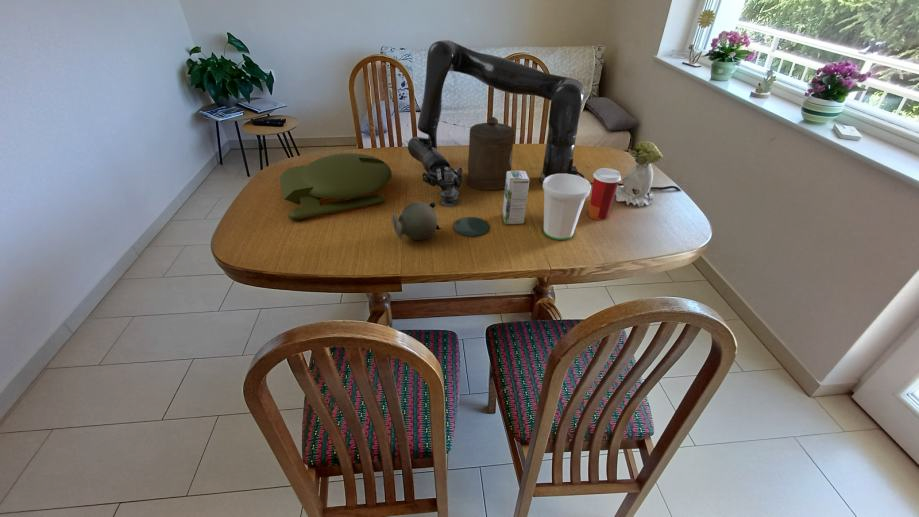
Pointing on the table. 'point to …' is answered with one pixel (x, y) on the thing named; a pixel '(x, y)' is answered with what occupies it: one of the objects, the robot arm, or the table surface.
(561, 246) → the table surface
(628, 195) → the white green figurine
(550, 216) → the cup
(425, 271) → the table surface
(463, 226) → the coaster
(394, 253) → the table surface
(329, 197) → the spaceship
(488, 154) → the wooden container
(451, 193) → the stone chess piece
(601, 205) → the paper cup
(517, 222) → the syrup box
